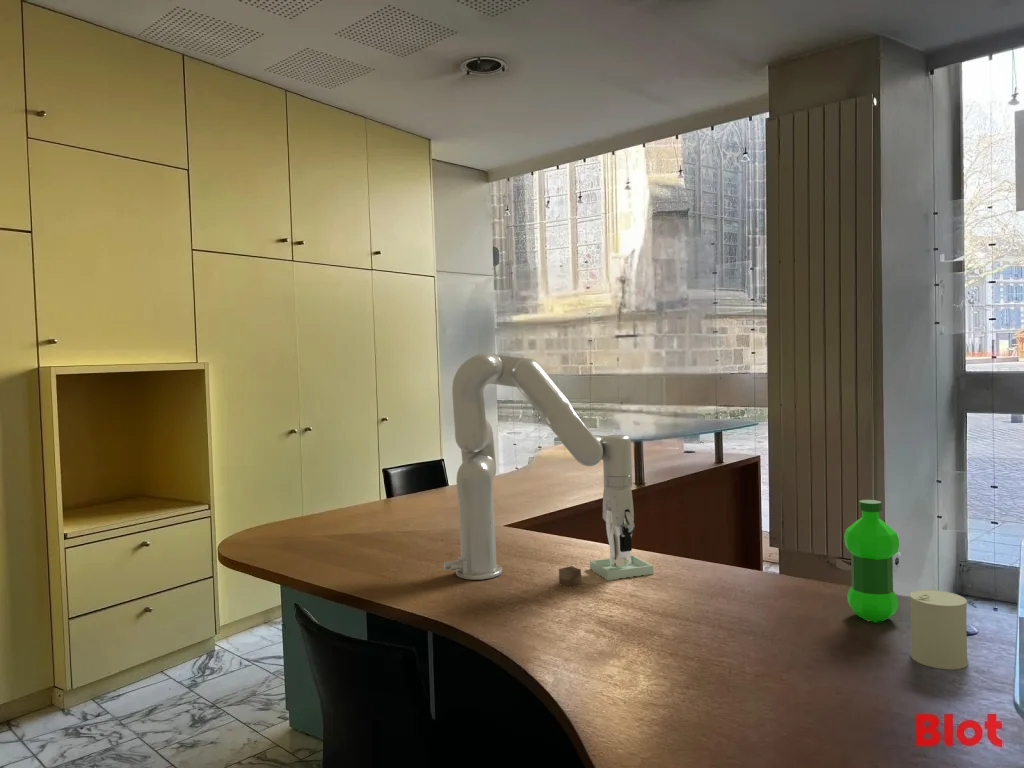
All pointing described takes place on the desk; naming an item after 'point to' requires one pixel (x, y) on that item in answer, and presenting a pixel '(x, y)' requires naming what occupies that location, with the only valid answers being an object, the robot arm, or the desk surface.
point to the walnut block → (570, 576)
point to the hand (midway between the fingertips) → (619, 547)
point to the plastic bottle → (871, 564)
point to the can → (938, 629)
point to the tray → (610, 572)
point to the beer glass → (616, 544)
